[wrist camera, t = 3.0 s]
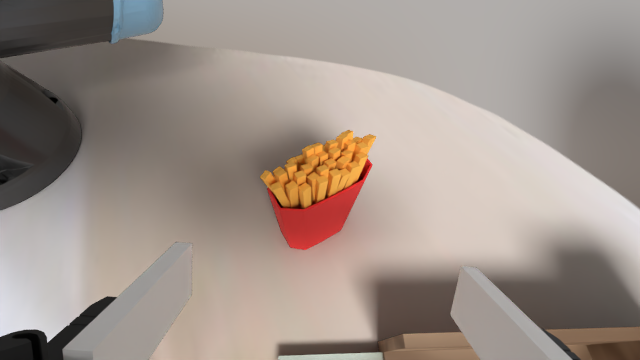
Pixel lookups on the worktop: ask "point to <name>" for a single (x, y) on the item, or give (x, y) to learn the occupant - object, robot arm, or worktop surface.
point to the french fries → (319, 188)
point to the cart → (458, 356)
